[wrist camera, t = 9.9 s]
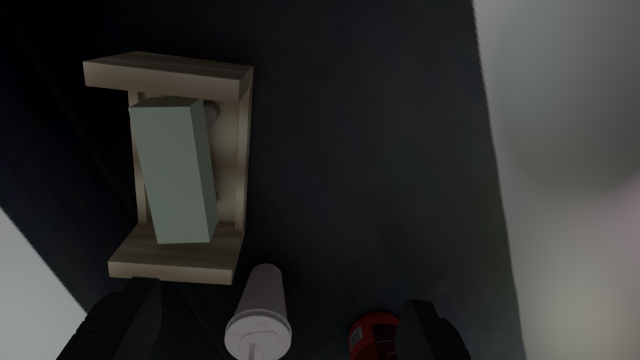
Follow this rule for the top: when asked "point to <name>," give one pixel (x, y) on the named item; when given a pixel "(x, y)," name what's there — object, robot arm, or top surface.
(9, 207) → the top surface
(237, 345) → the smoothie
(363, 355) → the canned food
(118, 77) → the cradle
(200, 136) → the grey-green rectangular block
